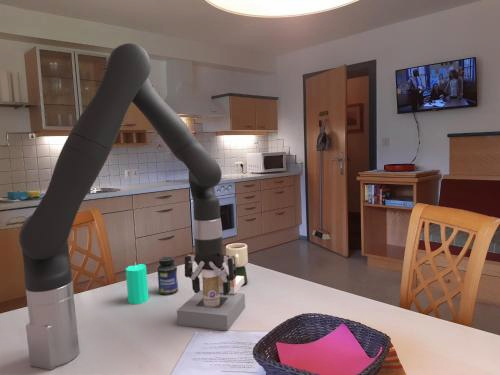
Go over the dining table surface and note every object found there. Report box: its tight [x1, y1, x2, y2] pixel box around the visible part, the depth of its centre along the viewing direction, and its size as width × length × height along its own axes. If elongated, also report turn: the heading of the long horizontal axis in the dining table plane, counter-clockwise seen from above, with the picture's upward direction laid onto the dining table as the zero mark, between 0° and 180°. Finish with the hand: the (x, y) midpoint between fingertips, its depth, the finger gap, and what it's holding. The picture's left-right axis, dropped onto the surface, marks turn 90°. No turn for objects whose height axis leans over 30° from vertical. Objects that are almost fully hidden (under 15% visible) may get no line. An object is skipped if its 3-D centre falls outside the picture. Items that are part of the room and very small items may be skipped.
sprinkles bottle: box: [201, 269, 220, 308], centre depth 103 cm, size 5×5×14 cm
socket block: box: [176, 289, 246, 331], centre depth 104 cm, size 14×14×4 cm
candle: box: [125, 262, 149, 305], centre depth 116 cm, size 6×6×12 cm
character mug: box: [225, 242, 249, 284], centre depth 126 cm, size 11×7×13 cm, turn 2°
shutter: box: [218, 276, 245, 294], centre depth 113 cm, size 9×9×5 cm
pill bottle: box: [157, 256, 179, 296], centre depth 122 cm, size 6×6×11 cm
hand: (211, 293), depth 103 cm, fingers open, 8 cm apart
